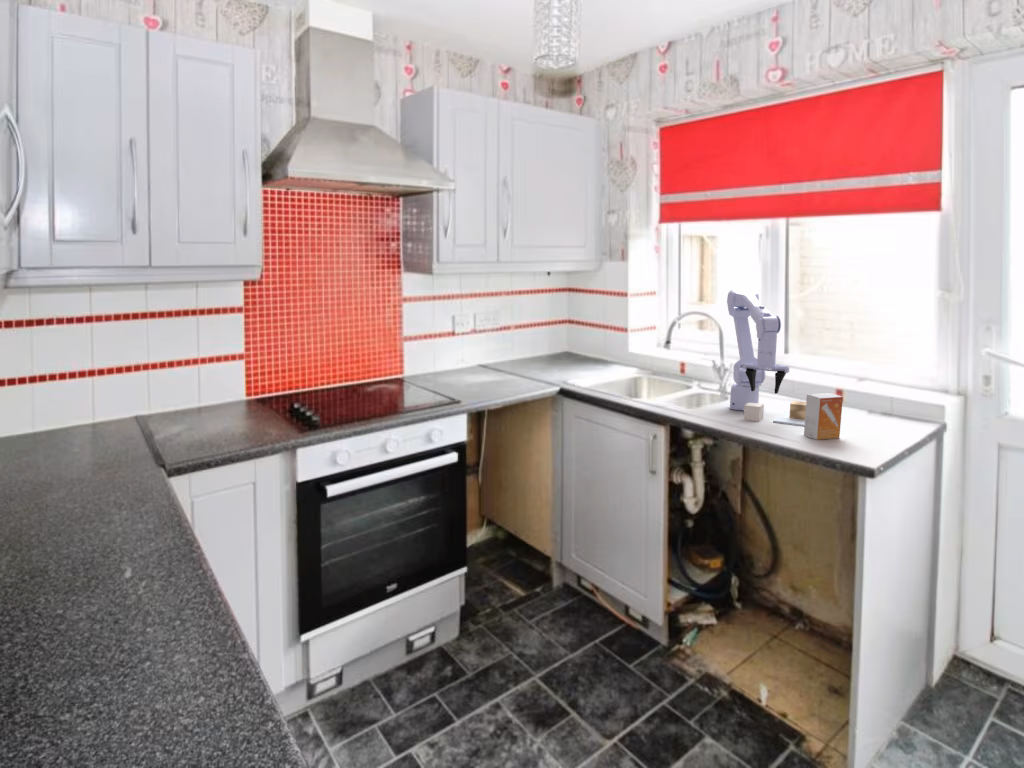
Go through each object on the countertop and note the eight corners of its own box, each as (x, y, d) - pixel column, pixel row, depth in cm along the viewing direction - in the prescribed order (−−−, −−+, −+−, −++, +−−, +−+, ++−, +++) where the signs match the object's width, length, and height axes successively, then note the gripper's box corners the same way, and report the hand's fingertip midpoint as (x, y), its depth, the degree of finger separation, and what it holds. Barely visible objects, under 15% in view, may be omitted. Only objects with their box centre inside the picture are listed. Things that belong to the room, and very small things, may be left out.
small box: (817, 440, 197) (820, 398, 194) (803, 435, 203) (806, 394, 200) (840, 438, 198) (843, 396, 196) (825, 433, 204) (828, 392, 202)
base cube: (789, 418, 221) (790, 403, 220) (793, 415, 225) (793, 400, 224) (805, 419, 218) (806, 405, 217) (808, 416, 222) (809, 402, 221)
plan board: (773, 422, 218) (773, 420, 218) (785, 413, 230) (785, 411, 230) (811, 427, 211) (811, 425, 211) (821, 417, 223) (822, 415, 223)
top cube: (743, 419, 224) (744, 405, 223) (748, 416, 227) (749, 402, 226) (758, 421, 221) (759, 406, 220) (763, 418, 224) (763, 404, 224)
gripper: (741, 352, 220) (739, 391, 223) (786, 355, 212) (784, 396, 214) (747, 349, 226) (745, 388, 228) (791, 352, 217) (789, 392, 220)
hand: (764, 391), depth 222 cm, fingers open, 7 cm apart
